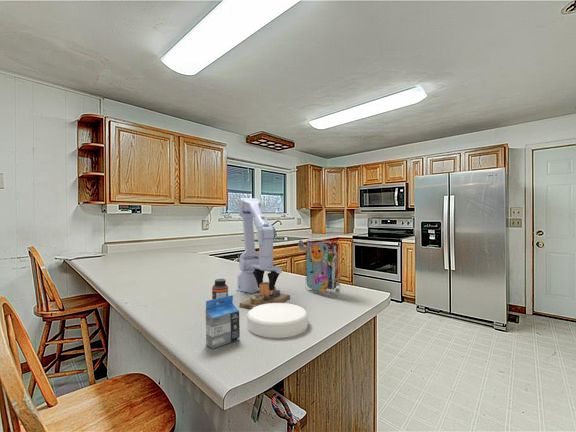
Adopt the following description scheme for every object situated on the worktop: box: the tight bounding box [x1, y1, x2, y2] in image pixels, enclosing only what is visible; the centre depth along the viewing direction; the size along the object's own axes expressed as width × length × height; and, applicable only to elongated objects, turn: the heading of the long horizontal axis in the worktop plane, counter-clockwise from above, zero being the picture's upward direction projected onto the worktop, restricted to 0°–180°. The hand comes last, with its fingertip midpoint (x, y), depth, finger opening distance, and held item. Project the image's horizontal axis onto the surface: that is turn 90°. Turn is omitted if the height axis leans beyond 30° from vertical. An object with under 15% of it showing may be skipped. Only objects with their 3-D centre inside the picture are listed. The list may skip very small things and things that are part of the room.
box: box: [297, 238, 341, 299], centre depth 134 cm, size 25×6×24 cm, turn 39°
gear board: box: [239, 286, 291, 310], centre depth 117 cm, size 11×20×5 cm, turn 149°
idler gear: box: [258, 281, 273, 295], centre depth 117 cm, size 6×6×4 cm
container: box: [246, 302, 309, 339], centre depth 94 cm, size 20×20×5 cm
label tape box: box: [205, 294, 241, 350], centre depth 81 cm, size 9×4×12 cm, turn 133°
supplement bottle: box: [211, 278, 229, 305], centre depth 109 cm, size 6×6×11 cm
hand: (266, 288), depth 117 cm, fingers closed on idler gear, 5 cm apart
